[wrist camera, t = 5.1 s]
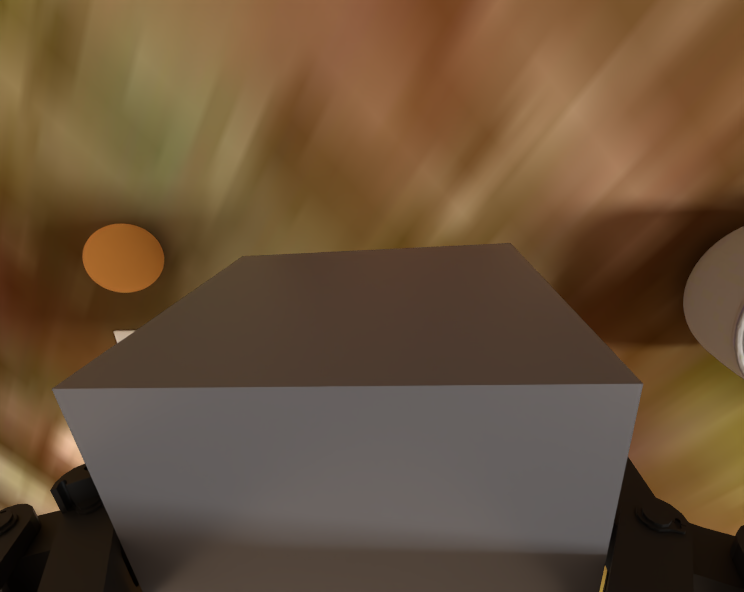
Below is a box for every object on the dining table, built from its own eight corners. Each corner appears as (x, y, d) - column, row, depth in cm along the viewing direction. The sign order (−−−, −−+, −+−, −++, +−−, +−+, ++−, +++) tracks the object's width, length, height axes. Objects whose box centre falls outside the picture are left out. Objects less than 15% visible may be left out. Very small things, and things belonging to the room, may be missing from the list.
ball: (107, 219, 30) (52, 233, 25) (168, 216, 30) (123, 230, 25) (126, 280, 32) (78, 304, 27) (184, 278, 31) (145, 302, 27)
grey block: (242, 256, 15) (51, 388, 7) (510, 243, 14) (643, 383, 6) (283, 457, 19) (188, 693, 11) (498, 460, 18) (570, 728, 10)
